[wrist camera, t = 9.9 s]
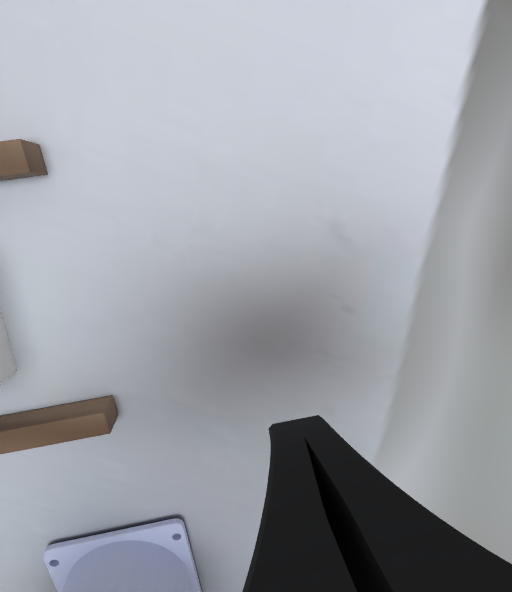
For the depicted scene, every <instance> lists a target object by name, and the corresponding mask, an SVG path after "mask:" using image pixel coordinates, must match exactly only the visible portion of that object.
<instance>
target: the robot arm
mask: <svg viewBox="0 0 512 592" xmlns="http://www.w3.org/2000/svg"><path fill="white" fill-rule="evenodd" d="M269 434H270V440H271V455H270V469H269V477H268V485H267V492H266V498H265V503H264V508H263V513H262V518H261V524H260V528H259V533H258V537H257V541H256V545H255V549H254V553H253V557H252V561H251V564H250V568H249V572H248V575H247V579H246V582H245V585H244V589H243V592H512V564H510V563H509V562H507V561H505V560H503V559H502V558H500V557H498V556H497V555H495V554H493V553H492V552H490V551H488V550H487V549H485V548H484V547H482V546H481V545H479V544H477V543H476V542H474V541H472V540H471V539H470V538H468V537H466V536H465V535H464V534H462V533H461V532H459V531H458V530H456V529H454V528H453V527H452V526H450V525H449V524H447V523H446V522H444V521H443V520H441V519H440V518H439V517H437V516H436V515H434V514H433V513H431V512H430V511H429V510H428V509H426V508H425V507H423V506H422V505H421V504H419V503H418V502H417V501H415V500H414V499H413V498H412V497H410V496H409V495H408V494H406V493H405V492H404V491H403V490H401V489H400V488H399V487H397V486H396V485H395V484H394V483H393V482H391V481H390V480H389V479H388V478H386V477H385V476H384V475H383V474H382V473H380V472H379V471H378V470H377V469H376V468H375V467H374V466H372V465H371V464H370V463H369V462H368V461H367V460H366V459H364V458H363V457H362V456H361V455H360V454H359V453H358V452H357V451H355V450H354V449H353V448H352V447H351V446H350V445H349V444H348V443H347V442H346V441H345V440H344V439H343V438H342V437H341V436H340V435H339V434H338V433H337V432H336V431H335V430H334V429H333V428H332V427H331V426H330V425H329V424H328V423H327V422H326V421H325V420H324V419H323V418H322V417H320V416H319V415H317V416H312V417H307V418H301V419H296V420H291V421H286V422H281V423H276V424H272V425H271V427H270V428H269ZM176 533H178V534H176ZM43 559H44V562H45V564H46V566H47V569H48V571H49V573H50V576H51V578H52V580H53V583H54V585H55V588H56V590H57V592H202V591H201V587H200V583H199V579H198V575H197V572H196V568H195V564H194V560H193V556H192V552H191V548H190V544H189V540H188V536H187V533H186V529H185V525H184V522H183V521H182V520H181V519H178V518H174V519H169V520H165V521H160V522H155V523H150V524H146V525H141V526H136V527H131V528H127V529H122V530H117V531H112V532H108V533H103V534H98V535H93V536H89V537H84V538H79V539H74V540H70V541H65V542H60V543H55V544H51V545H49V546H47V547H46V549H45V551H44V553H43Z"/></svg>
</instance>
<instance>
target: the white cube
mask: <svg viewBox="0 0 512 592" xmlns="http://www.w3.org/2000/svg"><path fill="white" fill-rule="evenodd" d="M15 371H17V369H16V365H15V361H14V358H13V354H12V350H11V346H10V343H9V339H8V335H7V331H6V327H5V324H4V320H3V316H2V312H1V308H0V385H1V384H2V383H3V382H4V381H5V380H6V379H7V378H9V377H10V376H11V375H12V374H13V373H14V372H15Z"/></svg>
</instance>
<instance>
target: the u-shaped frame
mask: <svg viewBox="0 0 512 592" xmlns="http://www.w3.org/2000/svg"><path fill="white" fill-rule="evenodd" d="M40 175H48V174H47V171H46V168H45V164H44V161H43V157H42V154H41V151H40V147H39V145H38V144H35V143H31V142H28V141H25V140H21V139H16V140H8V141H0V181H3V180H11V179H18V178H25V177H33V176H40ZM117 417H118V413H117V409H116V406H115V403H114V399H113V396H107V397H102V398H96V399H91V400H85V401H80V402H74V403H69V404H63V405H58V406H52V407H47V408H41V409H36V410H30V411H25V412H19V413H14V414H9V415H3V416H0V454H5V453H10V452H15V451H20V450H26V449H31V448H36V447H41V446H47V445H52V444H57V443H62V442H68V441H73V440H78V439H83V438H89V437H94V436H99V435H104V434H110V433H111V430H112V428H113V426H114V423H115V421H116V419H117Z"/></svg>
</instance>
